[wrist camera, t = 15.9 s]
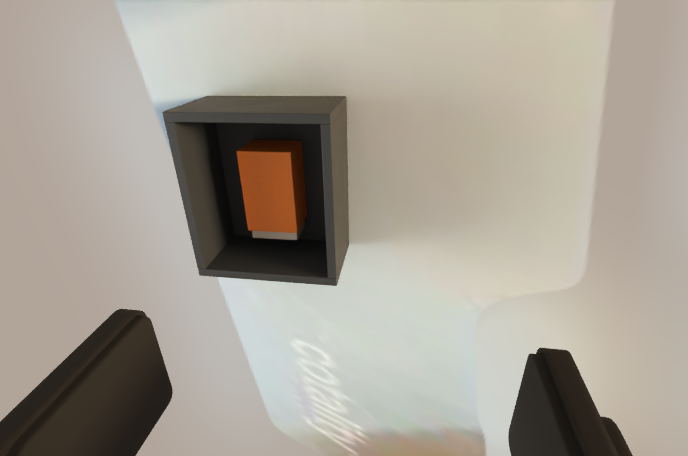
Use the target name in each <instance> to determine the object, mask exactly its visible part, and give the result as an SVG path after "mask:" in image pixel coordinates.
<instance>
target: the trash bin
mask: <svg viewBox="0 0 688 456" xmlns="http://www.w3.org/2000/svg"><path fill="white" fill-rule="evenodd" d="M163 117H164V121H165V125H166V130H167V134H168V138H169V143H170V147H171V152H172V156H173V161H174V165H175V169H176V174H177V178H178V183H179V187H180V192H181V196H182V200H183V204H184V209H185V214H186V218H187V222H188V227H189V231H190V236H191V240H192V244H193V249H194V253H195V258H196V262H197V267H198V270H199V275H202V276H214V277H227V278H241V279H254V280H267V281H280V282H293V283H306V284H319V285H332V286H336V285H337V283H338V279H339V276H340V272H341V269H342V266H343V262H344V259H345V256H346V252H347V249H348V246H349V220H348V165H347V110H346V97H345V96H206V97H203V98H201V99H198V100H195V101H192V102H189V103H186V104H184V105H181V106H178V107H175V108H172V109H169V110H167V111H164V112H163ZM251 140H297V141H302V151H303V165H304V179H305V193H306V207H307V217H306V218H305V227H304V228H303V230H302V232H301V234H300V236H299V238H298V240H285V239H268V238H253V235H252V231H249V230H248V225H247V219H246V212H245V205H244V199H243V192H242V185H241V179H240V172H239V165H238V158H237V152H236V151H237V150H239V149H240V148H242V147H243V146H244V145H246V144H247V143H248V142H250V141H251Z"/></svg>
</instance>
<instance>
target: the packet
mask: <svg viewBox="0 0 688 456" xmlns="http://www.w3.org/2000/svg"><path fill="white" fill-rule="evenodd" d="M236 152H237V158H238V165H239V172H240V179H241V185H242V192H243V199H244V205H245V212H246V219H247V225H248V230H249V231H252V235H253V238H268V239H285V240H298V238H299V236H300V234H301V232H302V230H303V228H304V227H305V218H306V217H307V207H306V193H305V179H304V165H303V151H302V141H297V140H251V141H250V142H248V143H247V144H246V145H244V146H243V147H242V148H240V149H239V150H237V151H236Z"/></svg>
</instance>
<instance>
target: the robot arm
mask: <svg viewBox="0 0 688 456" xmlns="http://www.w3.org/2000/svg"><path fill="white" fill-rule="evenodd" d="M171 398H172V386H171V383H170V380H169V377H168V373H167V370H166V367H165V364H164V361H163V357H162V354H161V351H160V348H159V344H158V341H157V338H156V335H155V332H154V328H153V325H152V322H151V320H150V319H149V318H148V317H147V316H146V314H145V313H144V312H143V311H138V310H127V309H119V310H117V311H115V312H114V313H113V314H112V315H111V316H110V317H109V318H108V319H107V320H106V321H105V322H104V323H102V324H101V326H99V327H98V328H97V329H96V330H95V331H94V332H93V333H92V334H91V335H90V336H89V337H88V338H87V339H86V340H85V341H84V342H83V343H82V344H81V345H80V346H79V347H77V349H75V350H74V351H73V352H72V353H71V354H70V355H69V356H68V357H67V358H66V359H65V360H64V361H63V362H62V363H61V364H60V365H59V366H58V367H57V368H56V369H55V370H54V371H53V372H52V373H50V374H49V376H47V377H46V378H45V379H44V380H43V381H42V382H41V383H40V384H39V385H38V386H37V387H36V388H35V389H34V390H33V391H32V392H31V393H30V394H29V395H28V396H27V397H26V398H25V399H24V400H22V401H21V402H20V403H19V404H18V405H17V406H16V407H15V408H14V409H13V410H12V411H11V412H10V413H9V414H8V415H7V416H6V417H5V418H4V419H3V420H2V421H1V422H0V456H135V455H136V454H137V452H138V451H139V449H140V448H141V446H142V445H143V443H144V441H145V440H146V438H147V437H148V435H149V434H150V432H151V431H152V429H153V428H154V426H155V424H156V423H157V421H158V420H159V418H160V417H161V415H162V413H163V412H164V410H165V409H166V407H167V406H168V404H169V402H170V400H171ZM509 447H510V452H511V456H632V454H631V452H630V450H629V448H628V446H627V444H626V442H625V440H624V438H623V436H622V434H621V432H620V430H619V428H618V427H617V425H616V424H615V423H614V422H613V421H612V420H611V419H610V418H606V417H600V415H599V413H598V411H597V409H596V407H595V404H594V402H593V400H592V398H591V396H590V394H589V392H588V389H587V387H586V385H585V383H584V381H583V379H582V377H581V375H580V372H579V370H578V368H577V366H576V364H575V362H574V360H573V358H572V356H571V354H570V352H568V351H567V350H558V349H548V348H539V349H538V350H537V353H536V354H529V356H528V359H527V363H526V367H525V370H524V374H523V378H522V382H521V386H520V390H519V394H518V397H517V401H516V405H515V409H514V413H513V417H512V421H511V425H510V428H509Z"/></svg>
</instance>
